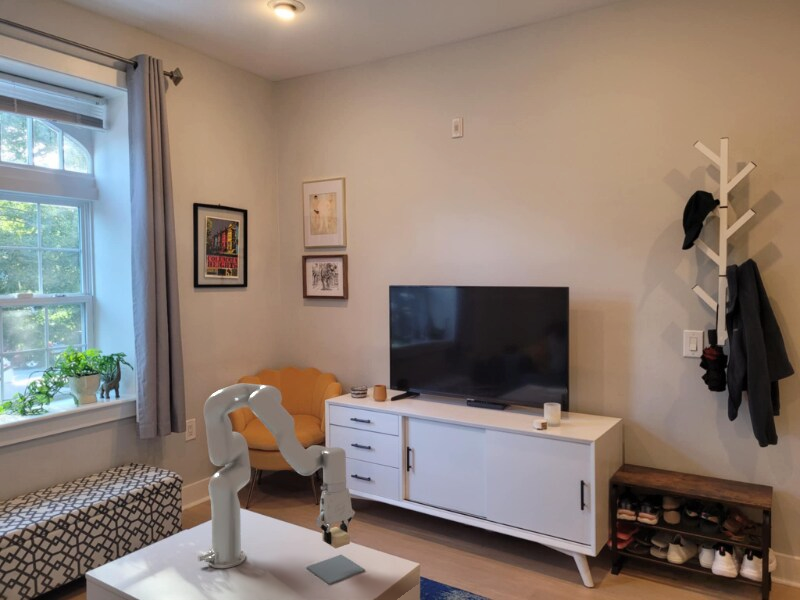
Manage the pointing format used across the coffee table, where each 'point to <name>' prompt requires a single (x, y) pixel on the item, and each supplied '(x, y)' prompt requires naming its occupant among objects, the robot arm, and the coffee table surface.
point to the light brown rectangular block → (338, 537)
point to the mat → (335, 569)
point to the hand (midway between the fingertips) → (335, 539)
